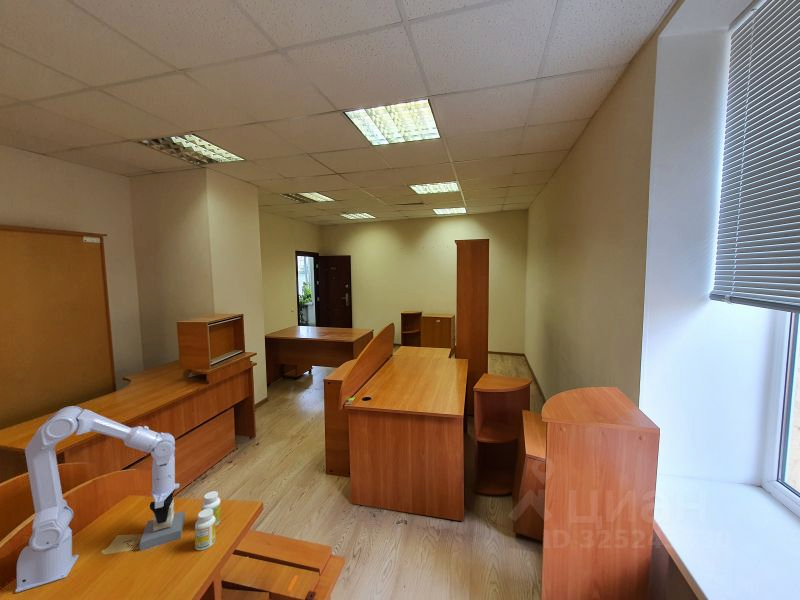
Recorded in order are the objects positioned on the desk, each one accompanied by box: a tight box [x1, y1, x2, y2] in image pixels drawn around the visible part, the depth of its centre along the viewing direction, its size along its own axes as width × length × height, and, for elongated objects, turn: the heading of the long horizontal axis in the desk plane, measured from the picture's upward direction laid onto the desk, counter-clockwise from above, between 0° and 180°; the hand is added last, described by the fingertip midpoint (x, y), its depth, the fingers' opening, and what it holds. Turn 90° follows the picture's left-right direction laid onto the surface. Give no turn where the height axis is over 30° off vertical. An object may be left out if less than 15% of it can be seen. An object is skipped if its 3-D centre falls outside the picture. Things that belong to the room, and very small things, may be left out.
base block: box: [139, 510, 186, 552], centre depth 98 cm, size 10×10×3 cm
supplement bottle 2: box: [194, 508, 217, 551], centre depth 94 cm, size 5×5×10 cm
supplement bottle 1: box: [201, 490, 221, 526], centre depth 103 cm, size 5×5×10 cm
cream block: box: [152, 498, 175, 531], centre depth 98 cm, size 4×4×6 cm
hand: (163, 516), depth 98 cm, fingers open, 5 cm apart
